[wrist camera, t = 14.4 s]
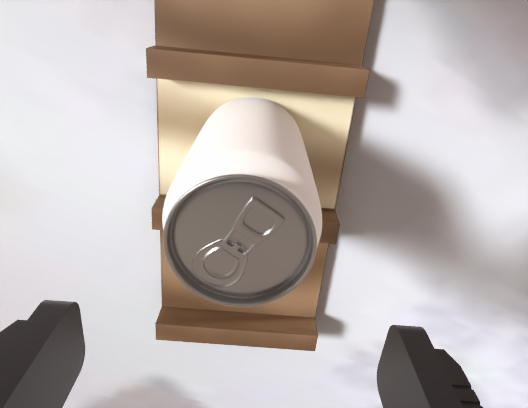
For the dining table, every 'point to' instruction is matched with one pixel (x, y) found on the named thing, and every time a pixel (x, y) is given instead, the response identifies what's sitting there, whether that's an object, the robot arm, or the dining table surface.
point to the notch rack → (267, 87)
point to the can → (243, 207)
